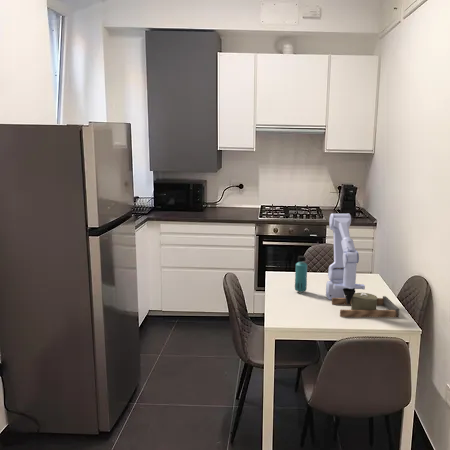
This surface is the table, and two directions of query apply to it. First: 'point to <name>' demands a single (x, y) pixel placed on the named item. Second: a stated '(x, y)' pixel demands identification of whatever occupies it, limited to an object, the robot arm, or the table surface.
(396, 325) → the table surface
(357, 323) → the table surface
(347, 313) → the bay
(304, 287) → the beverage bottle
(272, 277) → the table surface
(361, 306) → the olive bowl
